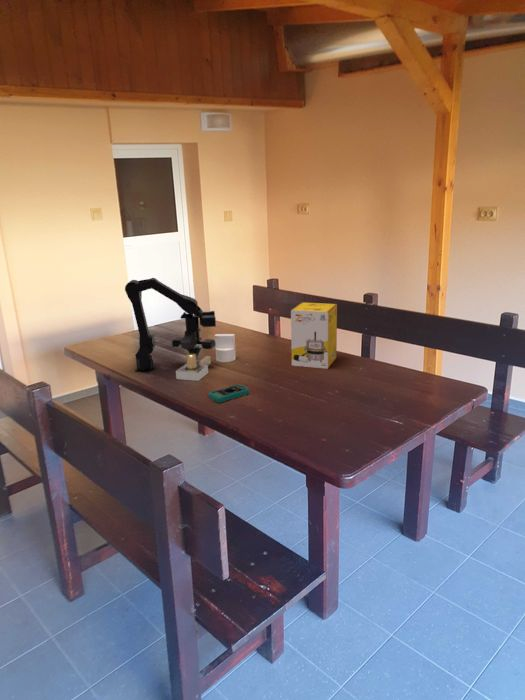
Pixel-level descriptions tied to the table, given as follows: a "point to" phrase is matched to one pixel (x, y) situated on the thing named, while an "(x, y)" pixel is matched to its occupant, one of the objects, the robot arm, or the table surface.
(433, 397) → the table surface
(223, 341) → the base with upright slab
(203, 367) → the square frame with handle
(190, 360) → the brown mottled cylinder
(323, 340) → the packaging box
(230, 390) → the digital multimeter
